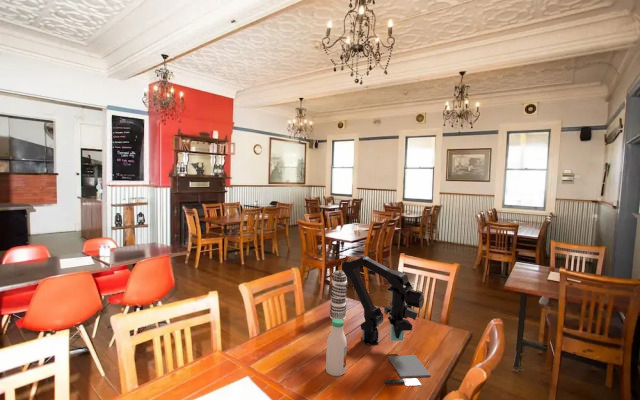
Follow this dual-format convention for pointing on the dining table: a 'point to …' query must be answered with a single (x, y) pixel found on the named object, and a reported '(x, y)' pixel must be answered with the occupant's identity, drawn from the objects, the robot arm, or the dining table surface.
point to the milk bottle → (336, 349)
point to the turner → (404, 382)
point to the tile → (392, 335)
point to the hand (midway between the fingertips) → (396, 336)
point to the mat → (408, 366)
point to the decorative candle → (338, 295)
